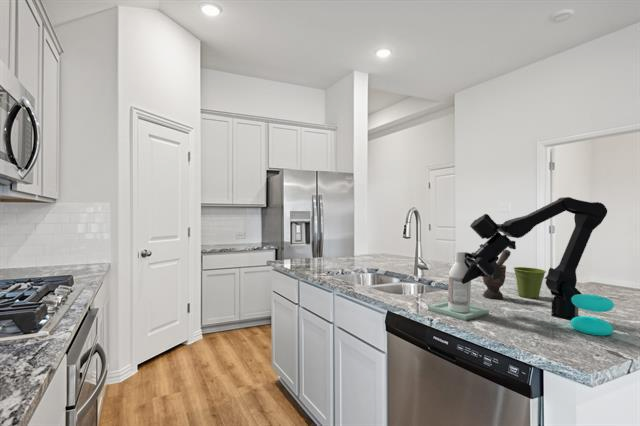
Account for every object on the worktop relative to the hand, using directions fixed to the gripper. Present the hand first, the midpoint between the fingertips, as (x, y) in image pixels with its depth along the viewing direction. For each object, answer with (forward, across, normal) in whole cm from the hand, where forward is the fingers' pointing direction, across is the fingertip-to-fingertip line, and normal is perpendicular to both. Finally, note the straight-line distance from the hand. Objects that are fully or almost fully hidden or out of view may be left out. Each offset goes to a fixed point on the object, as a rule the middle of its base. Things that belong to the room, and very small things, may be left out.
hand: (458, 280), depth 122 cm
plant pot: (-18, +28, -34) cm, 48 cm away
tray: (+8, 0, -8) cm, 11 cm away
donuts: (-16, -14, -32) cm, 39 cm away
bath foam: (+7, 0, -8) cm, 10 cm away
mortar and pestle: (-8, +23, -24) cm, 34 cm away
